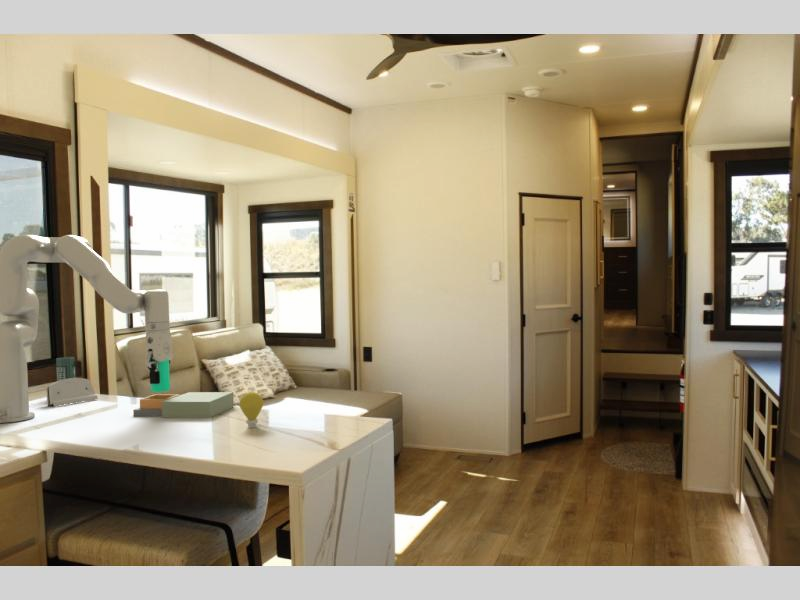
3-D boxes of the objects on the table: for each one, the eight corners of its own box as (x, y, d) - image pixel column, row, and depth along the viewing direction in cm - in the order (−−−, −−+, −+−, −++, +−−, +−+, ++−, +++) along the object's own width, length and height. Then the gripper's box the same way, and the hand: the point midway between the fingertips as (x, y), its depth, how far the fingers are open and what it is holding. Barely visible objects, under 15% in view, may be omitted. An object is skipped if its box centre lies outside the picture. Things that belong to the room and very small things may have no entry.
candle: (148, 390, 217) (146, 354, 217) (165, 388, 221) (164, 352, 221) (155, 392, 213) (154, 355, 212) (173, 390, 217) (171, 353, 217)
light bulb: (267, 427, 189) (265, 392, 188) (244, 430, 185) (242, 395, 185) (259, 423, 194) (258, 389, 194) (237, 426, 191) (236, 392, 191)
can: (79, 395, 256) (77, 357, 256) (67, 398, 250) (65, 359, 250) (66, 395, 258) (64, 357, 257) (54, 397, 252) (52, 358, 252)
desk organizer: (210, 417, 205) (209, 401, 204) (130, 417, 209) (129, 401, 209) (233, 406, 222) (233, 392, 222) (159, 406, 227) (158, 392, 226)
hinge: (53, 407, 231) (47, 380, 233) (47, 410, 234) (41, 383, 236) (99, 399, 245) (93, 374, 247) (92, 402, 248) (87, 377, 249)
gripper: (154, 329, 207) (156, 386, 208) (180, 325, 224) (183, 378, 224) (132, 329, 208) (134, 386, 209) (160, 325, 225) (162, 378, 226)
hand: (159, 381), depth 217 cm, fingers closed on candle, 5 cm apart
